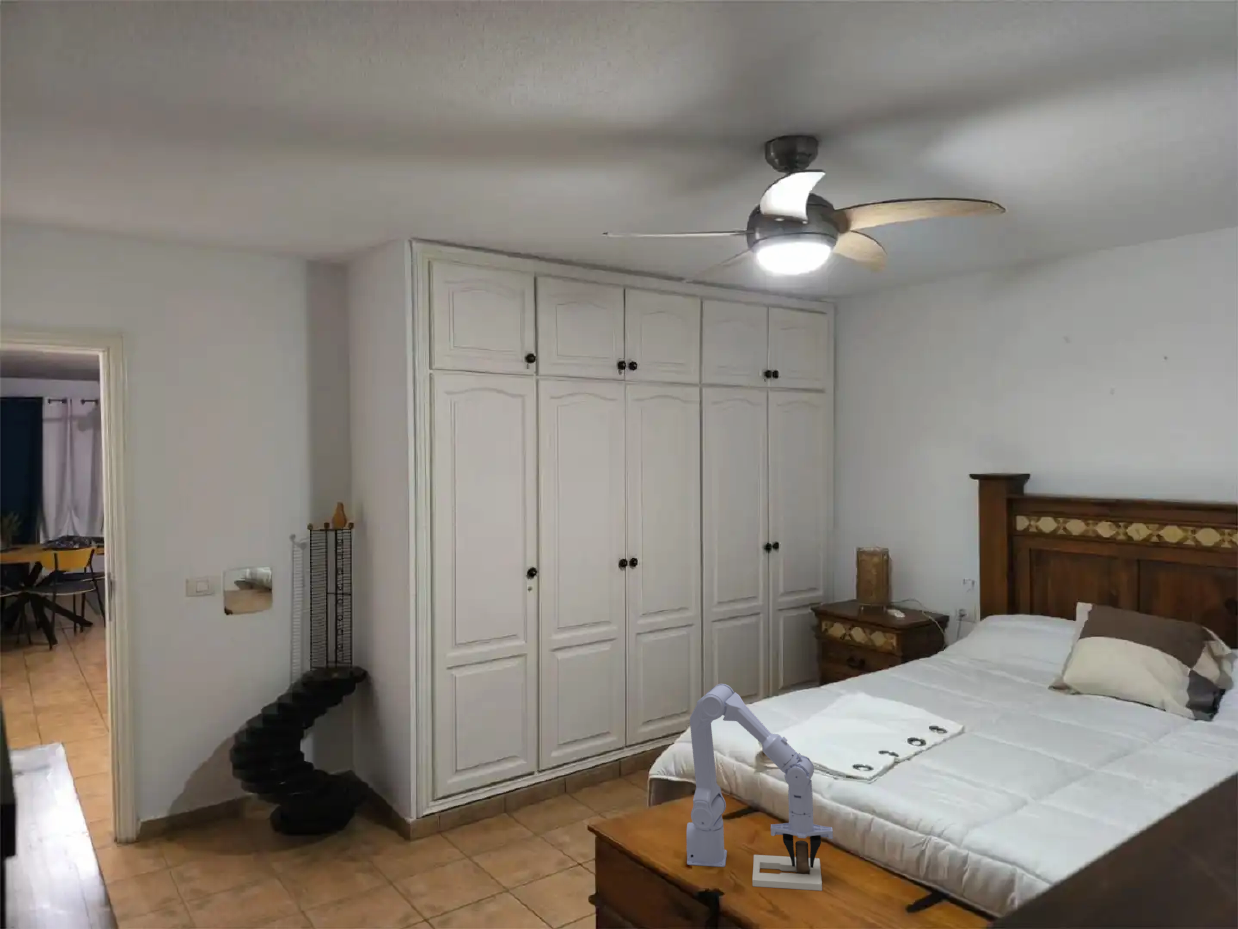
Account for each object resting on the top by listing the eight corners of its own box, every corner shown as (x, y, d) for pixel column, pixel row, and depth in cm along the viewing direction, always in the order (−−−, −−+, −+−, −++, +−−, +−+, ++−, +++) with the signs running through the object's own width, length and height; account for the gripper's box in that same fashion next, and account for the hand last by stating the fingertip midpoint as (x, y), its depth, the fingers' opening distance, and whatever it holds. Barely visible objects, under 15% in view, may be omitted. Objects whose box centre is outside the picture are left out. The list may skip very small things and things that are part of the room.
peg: (796, 879, 200) (795, 846, 200) (796, 872, 203) (795, 840, 203) (809, 879, 200) (808, 847, 199) (809, 872, 203) (807, 841, 202)
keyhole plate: (752, 886, 198) (752, 880, 198) (754, 860, 210) (753, 854, 210) (822, 890, 195) (821, 884, 195) (819, 864, 207) (819, 858, 207)
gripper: (770, 815, 198) (771, 871, 199) (832, 818, 196) (834, 875, 196) (770, 802, 205) (772, 857, 206) (831, 805, 203) (832, 860, 203)
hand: (802, 865), depth 201 cm, fingers open, 4 cm apart
